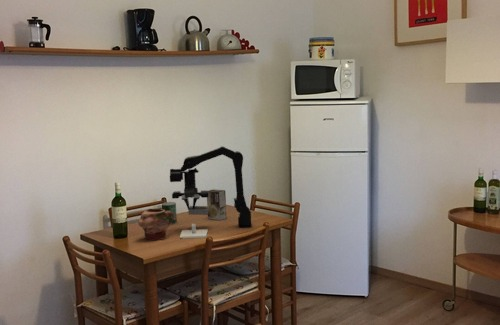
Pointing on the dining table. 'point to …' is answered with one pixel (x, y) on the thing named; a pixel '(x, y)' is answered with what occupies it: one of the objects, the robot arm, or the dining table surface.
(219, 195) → the coffee box
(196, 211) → the grey square frame
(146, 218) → the decorative planter
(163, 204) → the canned tomato
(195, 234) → the post stand
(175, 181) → the robot arm
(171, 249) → the dining table surface
